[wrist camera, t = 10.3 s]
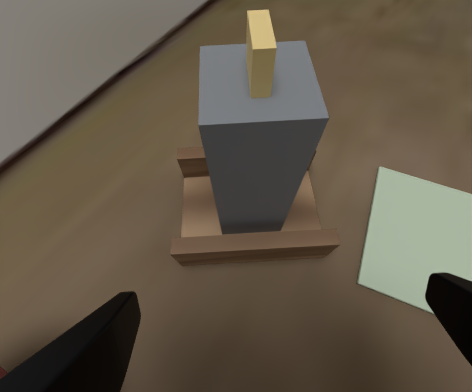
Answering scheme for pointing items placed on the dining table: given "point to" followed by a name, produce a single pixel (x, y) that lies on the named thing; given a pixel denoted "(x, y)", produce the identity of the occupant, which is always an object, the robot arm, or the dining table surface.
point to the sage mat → (414, 236)
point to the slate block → (258, 125)
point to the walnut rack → (246, 244)
